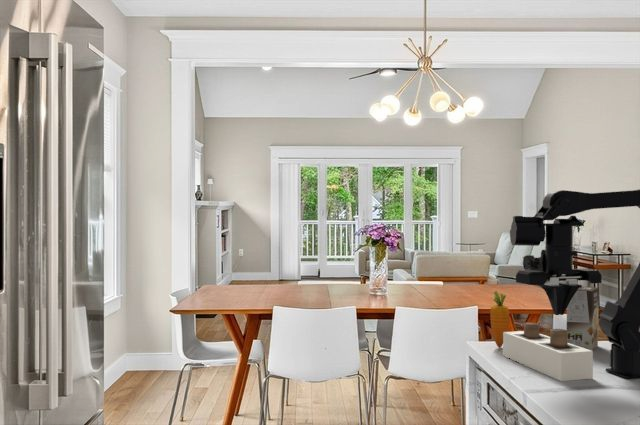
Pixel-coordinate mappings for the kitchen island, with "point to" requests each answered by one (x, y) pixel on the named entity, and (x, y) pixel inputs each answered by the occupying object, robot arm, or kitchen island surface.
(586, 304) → the coffee box
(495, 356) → the kitchen island surface
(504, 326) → the carrot
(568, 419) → the kitchen island surface
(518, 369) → the kitchen island surface
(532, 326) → the peg far
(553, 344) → the peg near
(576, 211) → the robot arm
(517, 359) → the white peg holder block
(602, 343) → the kitchen island surface
